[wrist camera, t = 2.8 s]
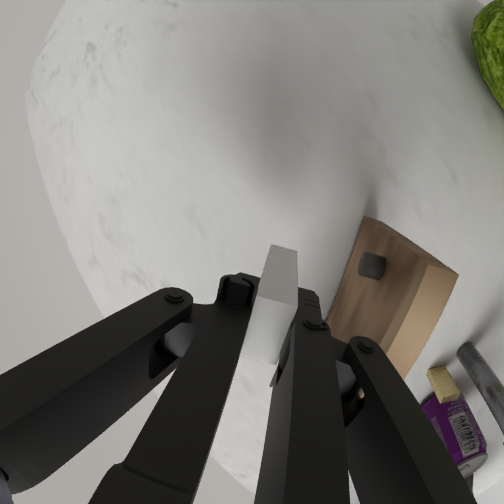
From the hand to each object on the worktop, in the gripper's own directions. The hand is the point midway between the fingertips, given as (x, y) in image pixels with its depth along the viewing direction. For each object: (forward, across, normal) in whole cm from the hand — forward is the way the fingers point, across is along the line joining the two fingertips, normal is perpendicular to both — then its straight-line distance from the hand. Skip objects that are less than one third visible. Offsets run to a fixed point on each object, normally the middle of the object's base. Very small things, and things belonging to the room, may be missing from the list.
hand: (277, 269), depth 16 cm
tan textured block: (+8, +22, -10) cm, 25 cm away
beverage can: (+8, +27, -16) cm, 32 cm away
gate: (+7, +6, -4) cm, 10 cm away
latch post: (+8, +25, -7) cm, 27 cm away
